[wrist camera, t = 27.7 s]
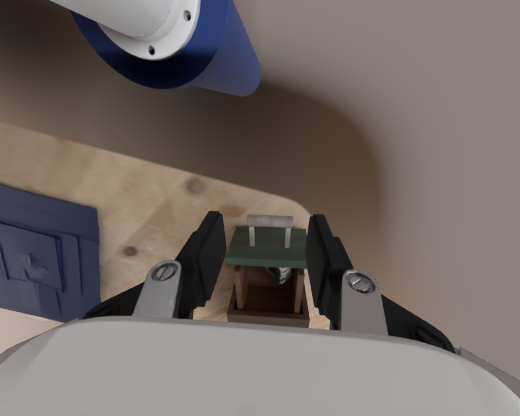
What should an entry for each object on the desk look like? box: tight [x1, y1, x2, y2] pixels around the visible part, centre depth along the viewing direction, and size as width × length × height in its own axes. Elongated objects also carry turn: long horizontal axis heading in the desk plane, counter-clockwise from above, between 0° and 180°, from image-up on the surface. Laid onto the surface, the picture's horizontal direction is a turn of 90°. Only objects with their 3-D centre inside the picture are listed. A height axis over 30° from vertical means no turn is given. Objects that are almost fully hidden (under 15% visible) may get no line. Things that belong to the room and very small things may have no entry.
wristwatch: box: [266, 267, 293, 284], centre depth 28 cm, size 3×5×5 cm
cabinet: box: [227, 283, 310, 328], centre depth 34 cm, size 14×12×9 cm
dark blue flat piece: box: [0, 185, 101, 323], centre depth 36 cm, size 24×30×4 cm
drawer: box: [226, 215, 307, 314], centre depth 28 cm, size 17×10×7 cm, turn 1°
